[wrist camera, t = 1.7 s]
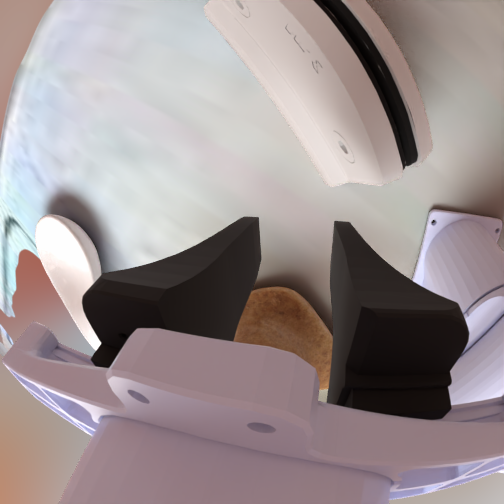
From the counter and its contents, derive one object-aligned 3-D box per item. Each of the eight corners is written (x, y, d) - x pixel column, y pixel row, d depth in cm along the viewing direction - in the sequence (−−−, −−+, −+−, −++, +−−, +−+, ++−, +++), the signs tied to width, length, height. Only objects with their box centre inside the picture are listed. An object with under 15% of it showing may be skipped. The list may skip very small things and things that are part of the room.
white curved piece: (202, 13, 15) (181, -63, 6) (256, -13, 14) (269, -92, 5) (327, 188, 20) (393, 227, 11) (375, 158, 20) (462, 178, 10)
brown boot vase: (200, 301, 30) (137, 420, 18) (299, 265, 25) (264, 428, 13) (270, 378, 36) (242, 480, 23) (355, 361, 30) (347, 482, 18)
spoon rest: (41, 222, 31) (6, 249, 26) (78, 187, 26) (32, 217, 21) (131, 345, 41) (110, 379, 35) (184, 342, 36) (162, 384, 30)
